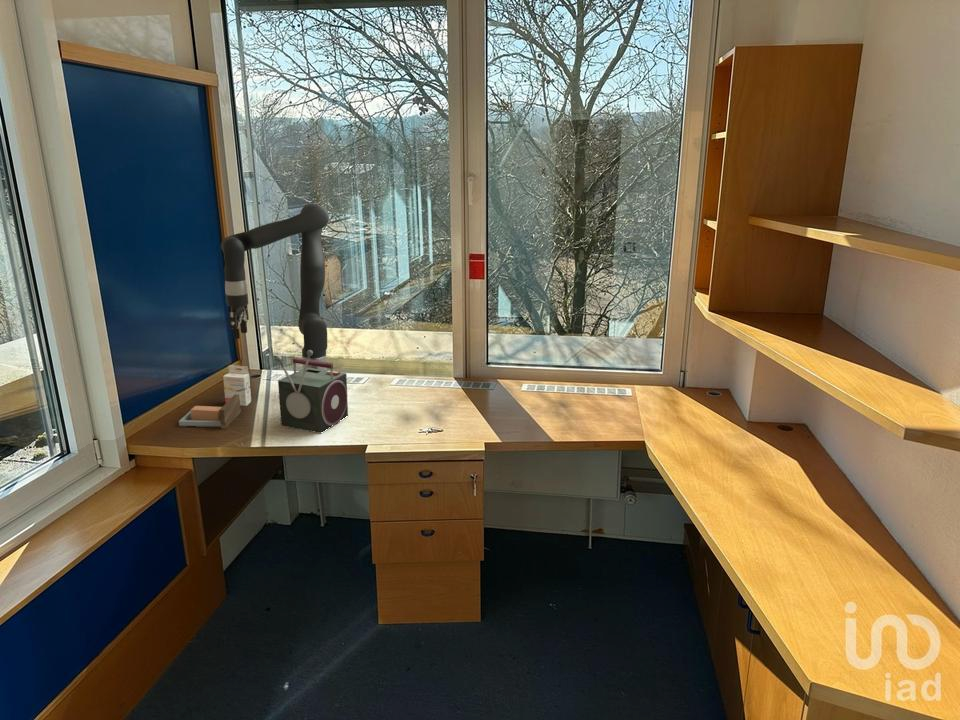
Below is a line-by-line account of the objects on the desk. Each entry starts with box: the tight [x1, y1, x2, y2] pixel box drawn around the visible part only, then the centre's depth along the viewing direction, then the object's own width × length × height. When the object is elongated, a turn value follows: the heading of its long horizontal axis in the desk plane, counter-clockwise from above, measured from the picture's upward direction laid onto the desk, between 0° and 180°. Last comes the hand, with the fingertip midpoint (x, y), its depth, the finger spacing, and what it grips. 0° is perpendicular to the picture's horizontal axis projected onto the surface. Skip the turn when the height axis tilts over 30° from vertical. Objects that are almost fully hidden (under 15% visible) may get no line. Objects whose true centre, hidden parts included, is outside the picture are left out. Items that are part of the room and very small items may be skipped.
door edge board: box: [219, 394, 242, 430], centre depth 238 cm, size 2×16×7 cm, turn 1°
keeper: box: [178, 410, 221, 428], centre depth 239 cm, size 15×13×2 cm
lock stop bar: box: [190, 405, 223, 421], centre depth 238 cm, size 10×4×4 cm, turn 86°
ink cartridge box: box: [222, 364, 252, 407], centre depth 253 cm, size 9×5×15 cm, turn 84°
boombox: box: [275, 350, 349, 433], centre depth 236 cm, size 18×21×30 cm
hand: (240, 335), depth 244 cm, fingers open, 8 cm apart
